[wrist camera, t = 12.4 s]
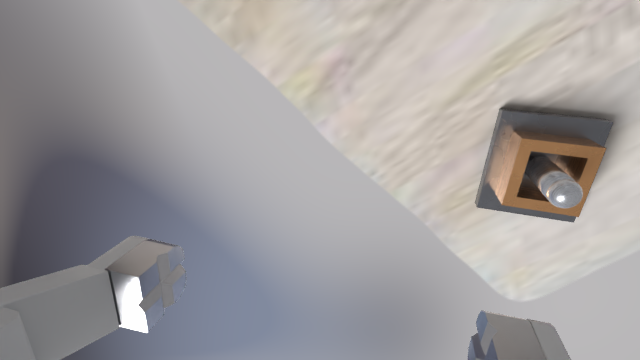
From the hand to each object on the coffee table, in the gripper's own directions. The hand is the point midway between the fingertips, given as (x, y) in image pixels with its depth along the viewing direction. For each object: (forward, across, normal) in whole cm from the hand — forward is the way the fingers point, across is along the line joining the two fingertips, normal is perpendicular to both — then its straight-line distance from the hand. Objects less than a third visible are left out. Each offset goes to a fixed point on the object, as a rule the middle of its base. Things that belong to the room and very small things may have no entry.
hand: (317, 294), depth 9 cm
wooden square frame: (+28, -15, +4) cm, 32 cm away
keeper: (+29, -15, +4) cm, 33 cm away
